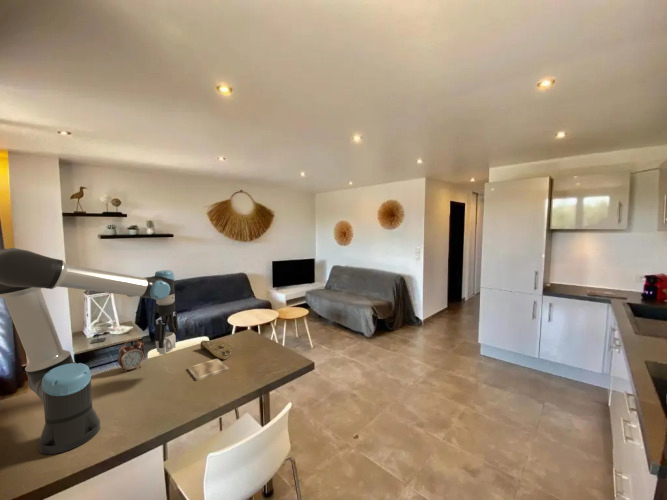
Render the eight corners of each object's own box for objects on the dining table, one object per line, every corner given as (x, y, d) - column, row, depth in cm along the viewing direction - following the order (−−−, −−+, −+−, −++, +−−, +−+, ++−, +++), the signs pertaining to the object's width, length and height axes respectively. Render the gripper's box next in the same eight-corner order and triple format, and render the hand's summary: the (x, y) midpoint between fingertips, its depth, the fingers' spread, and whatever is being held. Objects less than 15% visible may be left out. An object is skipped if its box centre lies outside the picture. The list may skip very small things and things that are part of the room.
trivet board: (196, 381, 130) (196, 378, 130) (187, 369, 142) (187, 367, 141) (228, 370, 141) (228, 368, 140) (217, 360, 152) (217, 358, 152)
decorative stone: (198, 348, 165) (200, 340, 165) (223, 344, 176) (224, 336, 176) (217, 367, 148) (219, 358, 148) (243, 360, 160) (245, 352, 159)
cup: (181, 351, 134) (180, 335, 133) (163, 357, 127) (163, 340, 126) (169, 346, 139) (168, 330, 139) (152, 352, 133) (151, 335, 132)
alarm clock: (121, 375, 136) (119, 345, 135) (117, 372, 139) (116, 342, 138) (146, 366, 145) (144, 338, 144) (142, 363, 148) (141, 336, 147)
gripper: (159, 308, 122) (161, 360, 124) (185, 298, 142) (187, 342, 144) (143, 308, 123) (145, 359, 124) (171, 298, 142) (172, 342, 144)
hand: (167, 350), depth 134 cm, fingers closed on cup, 7 cm apart
